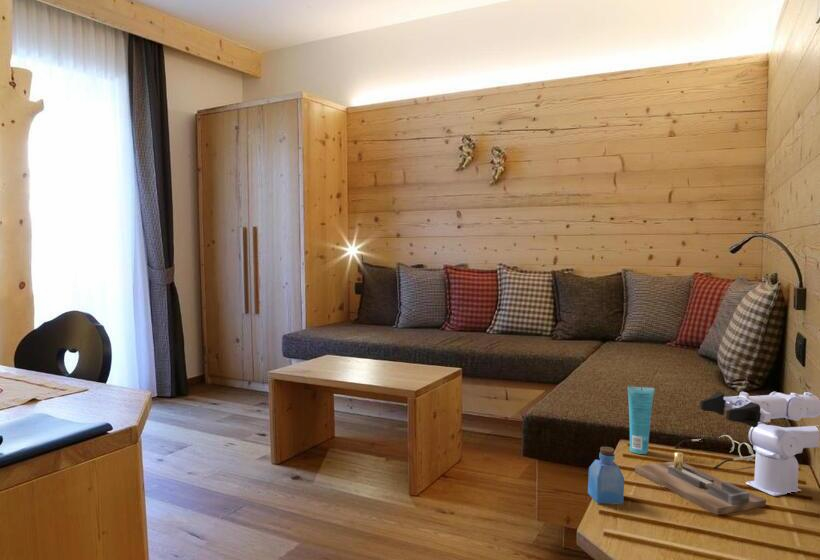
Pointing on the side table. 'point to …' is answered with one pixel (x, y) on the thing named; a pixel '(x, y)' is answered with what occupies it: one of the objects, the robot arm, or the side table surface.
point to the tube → (640, 417)
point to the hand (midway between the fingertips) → (714, 410)
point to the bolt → (678, 465)
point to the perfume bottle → (606, 479)
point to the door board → (701, 488)
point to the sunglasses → (730, 451)
